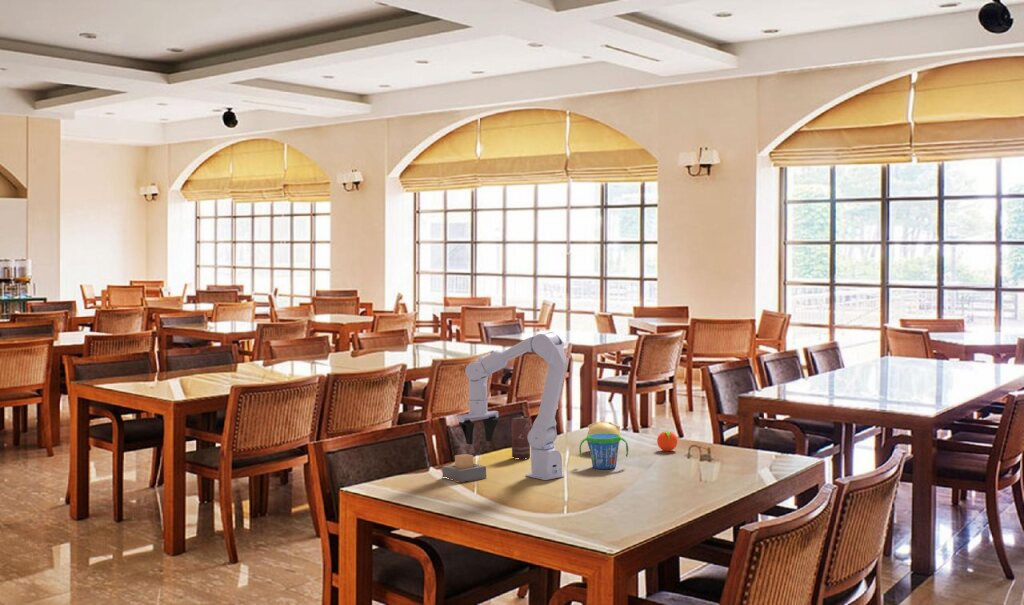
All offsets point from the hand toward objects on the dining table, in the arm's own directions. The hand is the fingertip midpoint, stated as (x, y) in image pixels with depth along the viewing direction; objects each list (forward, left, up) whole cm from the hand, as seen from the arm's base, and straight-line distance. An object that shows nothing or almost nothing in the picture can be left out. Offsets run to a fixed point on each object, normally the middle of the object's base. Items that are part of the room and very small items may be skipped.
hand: (479, 442), depth 312 cm
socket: (-4, +9, -9) cm, 14 cm away
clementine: (-17, -68, -10) cm, 71 cm away
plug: (-4, +9, -9) cm, 13 cm away
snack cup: (-22, -33, -10) cm, 41 cm away
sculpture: (-2, -52, -10) cm, 53 cm away
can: (+9, -24, -10) cm, 27 cm away
